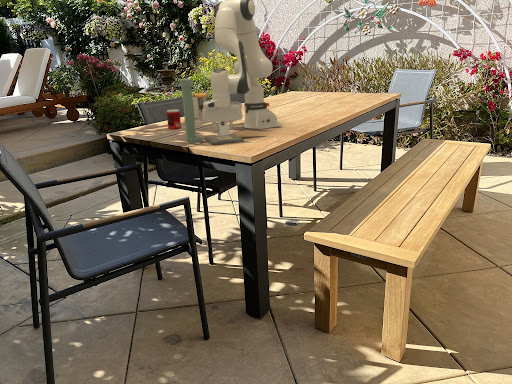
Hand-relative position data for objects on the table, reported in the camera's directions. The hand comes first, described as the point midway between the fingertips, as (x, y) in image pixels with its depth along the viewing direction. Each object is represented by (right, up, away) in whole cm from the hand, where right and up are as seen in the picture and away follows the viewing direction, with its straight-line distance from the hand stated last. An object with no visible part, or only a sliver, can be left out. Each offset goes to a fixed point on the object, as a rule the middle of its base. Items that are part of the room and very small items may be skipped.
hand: (223, 130), depth 206 cm
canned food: (-33, +7, +42) cm, 53 cm away
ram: (-11, +7, +2) cm, 14 cm away
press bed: (0, -5, +2) cm, 6 cm away
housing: (0, -2, +1) cm, 2 cm away
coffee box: (-20, +17, +67) cm, 72 cm away
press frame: (-15, -5, +5) cm, 17 cm away
